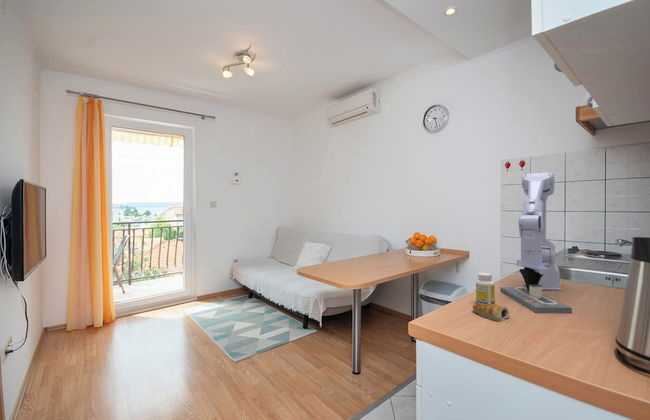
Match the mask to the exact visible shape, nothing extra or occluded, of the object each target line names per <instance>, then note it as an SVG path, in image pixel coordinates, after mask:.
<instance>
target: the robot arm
mask: <svg viewBox="0 0 650 420" xmlns="http://www.w3.org/2000/svg"><path fill="white" fill-rule="evenodd" d="M555 180H556V179H555V172H553V171H552V170H551V171H546V172H545V171H544V172H531V173H526V172H525V173H523V174H522V176H521V186H522V187H521V188H522V189H523V192H524V195H526V196H527V199H526V200H525V201H523V205H522V211H521V215H519V217H518V221H517V222H518V230H519V237H520V259H516V266H518V267H523V268H520V269H519V272H520V274H521V276H522V278H523V280H524V283H523V286H525V287H526V288H527V291H529V284H539V285H541V286H542V291H545V290H546V291H547V290H549V291H551V290H554V291H558V290H559V291H561V290H562V288H561V281H560V280H561V273H560V269H559V267H558V266H557V265H556V257H557V256H556V254H557V253H556V245H555V244H554V242H552V241H550V239H548V238H547V201H548V198H549V196H552V195H553V194H554V191H555Z"/></svg>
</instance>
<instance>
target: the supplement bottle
mask: <svg viewBox="0 0 650 420" xmlns="http://www.w3.org/2000/svg"><path fill="white" fill-rule="evenodd" d="M477 278H478V279H477V280H476V281H475V294H476V295H475V296H476V297H475V298H476V299H475V300H476V303H477V304H487V303H488V304H496V291H495V286H496V285H495V282H494V281H493V280H492V279H493V275H492V273H489V272H488V273H487V272H478V273H477Z"/></svg>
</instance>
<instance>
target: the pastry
mask: <svg viewBox="0 0 650 420" xmlns="http://www.w3.org/2000/svg"><path fill="white" fill-rule="evenodd" d="M471 307H472V309H473V312H474V313H475V314H476V315H479V316H481V318H486V319H489V320H491V321H496V322H503V321H504V320H505V319H507V318H509V317H510V311H509V309H508V307H506V306H503V305H502V306H501V305H499V304H496V303H495V304H488V303H487V304H478V303H477V304H473V305H472V306H471Z"/></svg>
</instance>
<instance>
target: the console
mask: <svg viewBox="0 0 650 420" xmlns="http://www.w3.org/2000/svg"><path fill="white" fill-rule="evenodd" d="M499 290H500V292H501V293H502V294H504V295H505V296H508V297H509V298H511V299H513V300H514V301H515V302H517V303H518V304H521V306H524V307H526V308H527V309H529V310H530V311H532V312H534V313H537V314H539V313H540V314H573V309H572V307H571V306H569V305H567V304H564V303H563V302H560V301H558V300H557V299H554V298H552V297H550V296H548V295H546V294H544V293H542V295H541V296H542V299H536V298H534V297H533V296H531V295H530V294H529V291H527V288H526V286H525V287H524V286H522V287H521V286H520V287H519V286H517V287H515V286H514V287H512V286H509V287H508V286H500V287H499Z"/></svg>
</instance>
